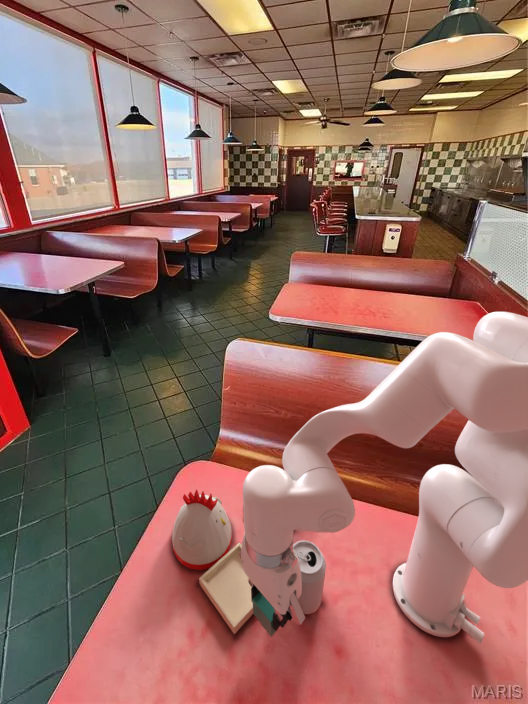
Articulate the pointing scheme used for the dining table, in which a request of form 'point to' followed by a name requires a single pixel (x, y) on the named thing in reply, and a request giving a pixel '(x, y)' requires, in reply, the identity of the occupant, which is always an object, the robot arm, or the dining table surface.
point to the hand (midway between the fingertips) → (269, 608)
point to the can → (310, 575)
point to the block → (264, 612)
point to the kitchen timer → (201, 531)
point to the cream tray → (229, 589)
